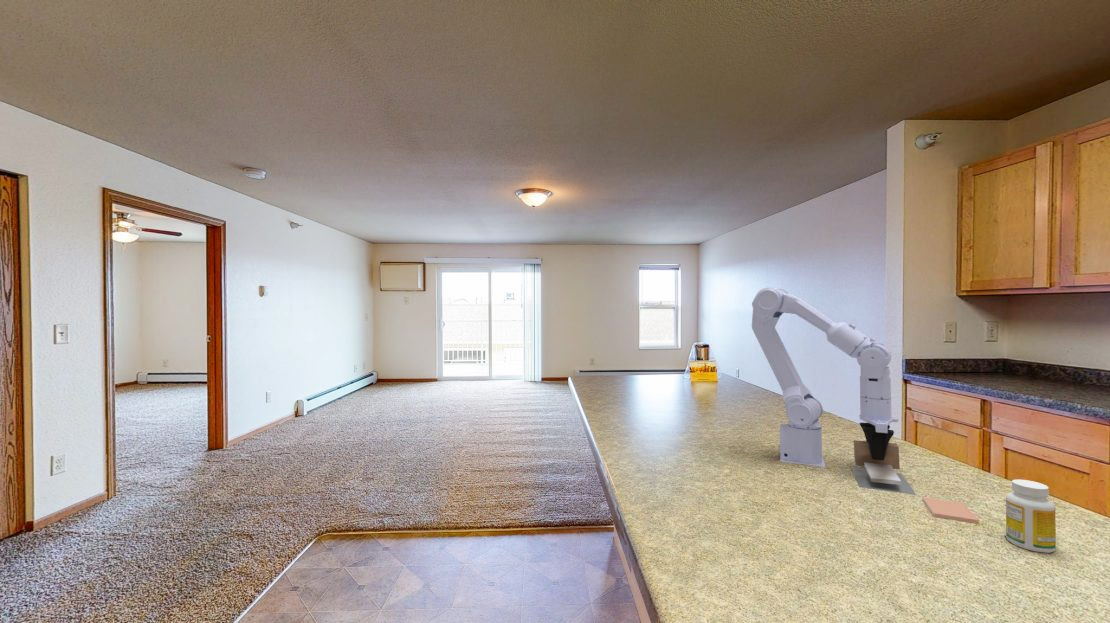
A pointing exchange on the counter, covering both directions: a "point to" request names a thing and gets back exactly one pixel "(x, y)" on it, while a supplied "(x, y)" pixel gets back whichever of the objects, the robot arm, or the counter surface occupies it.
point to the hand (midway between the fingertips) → (876, 457)
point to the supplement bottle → (1030, 517)
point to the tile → (950, 510)
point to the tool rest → (865, 482)
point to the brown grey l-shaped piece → (878, 463)
